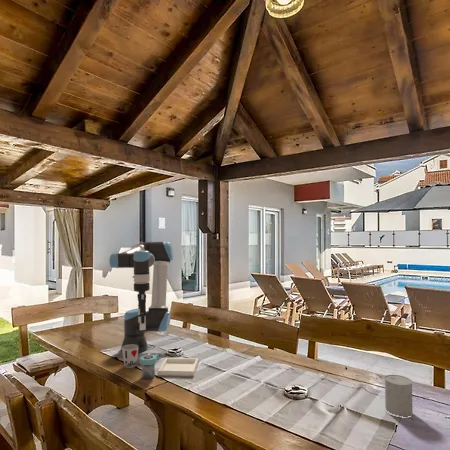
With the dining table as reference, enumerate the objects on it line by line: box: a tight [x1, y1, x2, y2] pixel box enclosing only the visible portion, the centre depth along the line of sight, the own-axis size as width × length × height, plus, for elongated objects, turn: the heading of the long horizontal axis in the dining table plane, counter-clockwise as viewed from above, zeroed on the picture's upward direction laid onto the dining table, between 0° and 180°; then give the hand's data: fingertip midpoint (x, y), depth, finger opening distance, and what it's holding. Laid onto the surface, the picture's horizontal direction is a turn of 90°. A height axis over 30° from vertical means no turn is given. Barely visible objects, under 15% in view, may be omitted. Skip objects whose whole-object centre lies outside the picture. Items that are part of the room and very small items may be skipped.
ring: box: [139, 353, 160, 366], centre depth 170 cm, size 9×8×2 cm
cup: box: [121, 344, 139, 369], centre depth 183 cm, size 8×8×10 cm
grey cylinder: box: [384, 374, 414, 417], centre depth 136 cm, size 10×10×12 cm
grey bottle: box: [141, 352, 156, 381], centre depth 169 cm, size 6×6×11 cm
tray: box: [157, 357, 199, 378], centre depth 178 cm, size 17×17×2 cm
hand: (141, 325), depth 173 cm, fingers open, 13 cm apart
